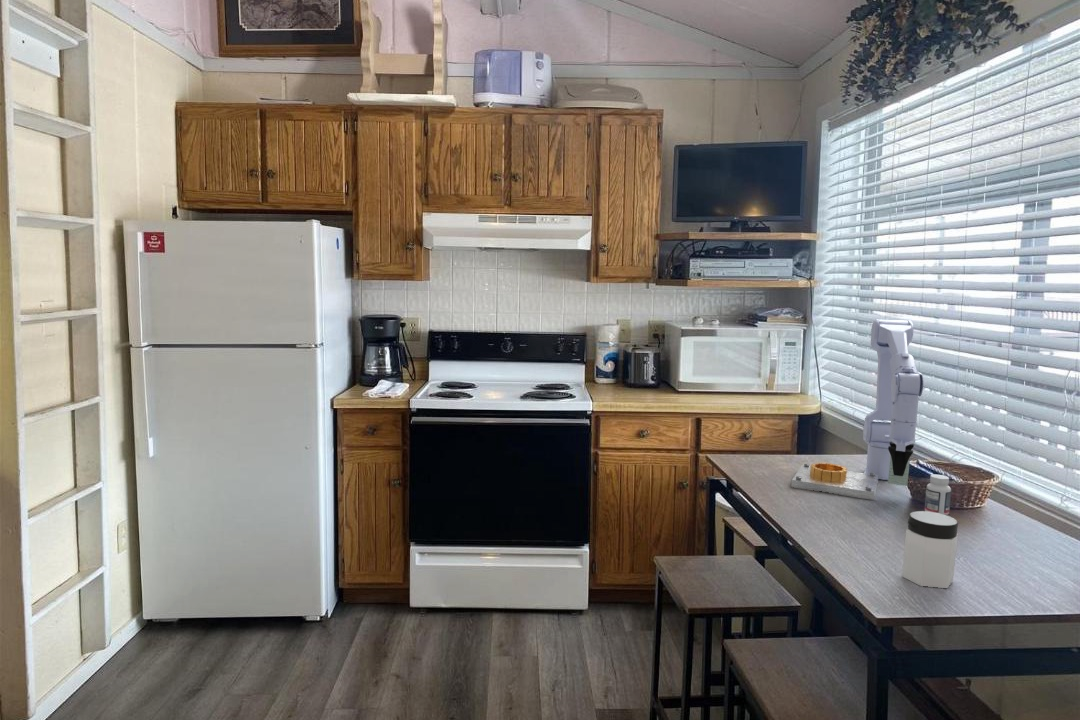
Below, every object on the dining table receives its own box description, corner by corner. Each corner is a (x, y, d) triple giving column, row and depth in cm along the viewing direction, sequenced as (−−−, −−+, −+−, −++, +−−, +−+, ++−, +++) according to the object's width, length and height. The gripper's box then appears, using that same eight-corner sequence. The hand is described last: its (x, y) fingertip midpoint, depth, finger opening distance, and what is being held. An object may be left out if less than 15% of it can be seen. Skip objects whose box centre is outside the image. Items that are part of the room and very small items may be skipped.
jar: (909, 566, 147) (915, 507, 145) (956, 578, 142) (962, 517, 140) (897, 580, 140) (903, 518, 139) (945, 593, 135) (952, 529, 133)
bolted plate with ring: (801, 471, 214) (802, 455, 213) (877, 482, 205) (879, 466, 204) (791, 487, 198) (792, 470, 197) (873, 500, 189) (875, 482, 188)
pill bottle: (943, 509, 183) (946, 474, 182) (952, 516, 178) (956, 480, 177) (920, 508, 183) (924, 472, 182) (929, 515, 178) (933, 479, 177)
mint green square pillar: (888, 478, 192) (891, 447, 191) (907, 481, 190) (910, 450, 189) (887, 483, 188) (890, 451, 187) (907, 486, 187) (910, 454, 185)
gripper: (887, 413, 196) (882, 464, 197) (884, 423, 183) (879, 477, 185) (917, 416, 192) (912, 468, 194) (916, 427, 180) (911, 482, 181)
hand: (898, 473), depth 189 cm, fingers closed on mint green square pillar, 4 cm apart
